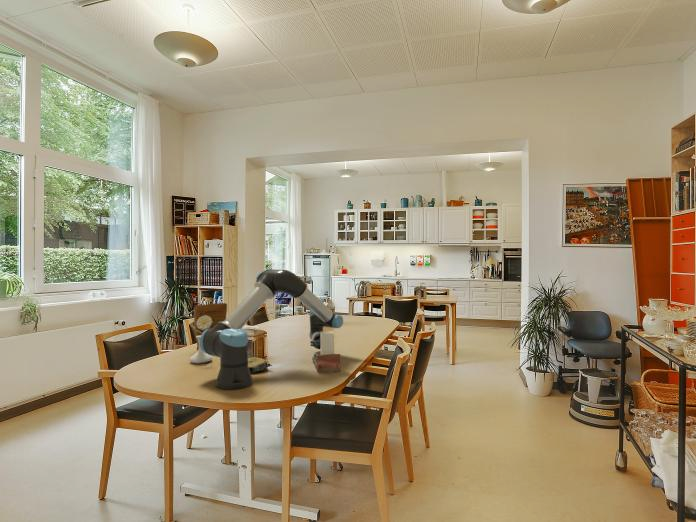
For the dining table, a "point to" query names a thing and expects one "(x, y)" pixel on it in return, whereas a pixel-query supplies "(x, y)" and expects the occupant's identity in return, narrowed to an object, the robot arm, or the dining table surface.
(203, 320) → the flower in vase
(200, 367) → the dining table surface
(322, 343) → the block
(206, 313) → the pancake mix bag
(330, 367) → the red brick
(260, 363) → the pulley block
